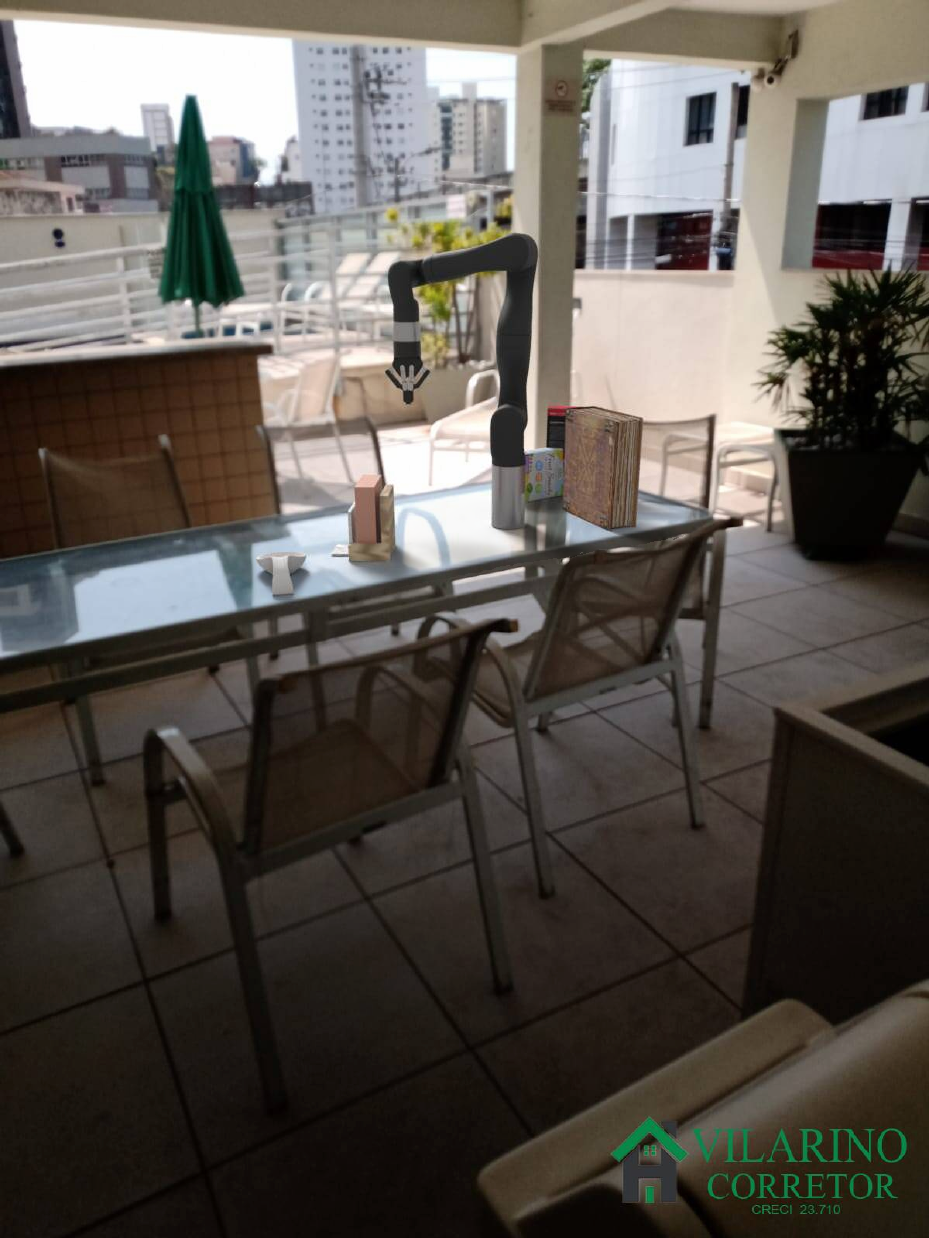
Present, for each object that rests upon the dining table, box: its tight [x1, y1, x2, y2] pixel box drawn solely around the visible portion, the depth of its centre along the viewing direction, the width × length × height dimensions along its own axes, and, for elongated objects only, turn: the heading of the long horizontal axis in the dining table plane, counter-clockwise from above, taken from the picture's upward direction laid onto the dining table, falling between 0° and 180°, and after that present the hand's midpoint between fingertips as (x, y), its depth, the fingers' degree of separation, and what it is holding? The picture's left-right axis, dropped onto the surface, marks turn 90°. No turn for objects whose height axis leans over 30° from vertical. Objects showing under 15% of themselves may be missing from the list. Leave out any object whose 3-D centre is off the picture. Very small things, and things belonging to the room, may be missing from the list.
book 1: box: [353, 474, 383, 543], centre depth 226 cm, size 5×14×18 cm, turn 178°
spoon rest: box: [255, 550, 307, 596], centre depth 208 cm, size 24×12×7 cm, turn 12°
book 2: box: [562, 405, 644, 532], centre depth 252 cm, size 25×9×30 cm, turn 24°
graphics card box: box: [545, 405, 603, 469], centre depth 280 cm, size 17×7×27 cm, turn 79°
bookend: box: [331, 500, 357, 557], centre depth 226 cm, size 6×12×12 cm, turn 178°
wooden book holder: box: [347, 484, 397, 562], centre depth 224 cm, size 10×14×16 cm
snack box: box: [524, 447, 564, 503], centre depth 278 cm, size 21×6×15 cm, turn 124°
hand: (408, 404), depth 250 cm, fingers closed
